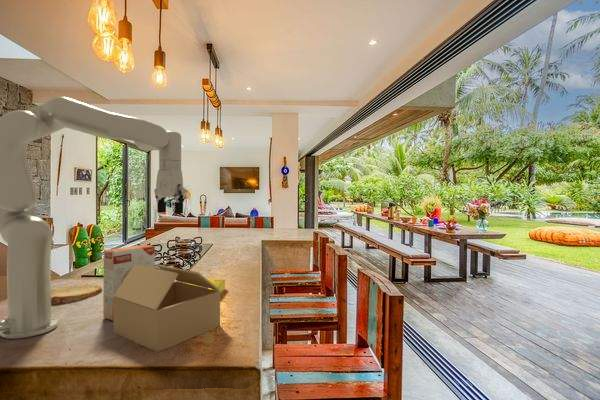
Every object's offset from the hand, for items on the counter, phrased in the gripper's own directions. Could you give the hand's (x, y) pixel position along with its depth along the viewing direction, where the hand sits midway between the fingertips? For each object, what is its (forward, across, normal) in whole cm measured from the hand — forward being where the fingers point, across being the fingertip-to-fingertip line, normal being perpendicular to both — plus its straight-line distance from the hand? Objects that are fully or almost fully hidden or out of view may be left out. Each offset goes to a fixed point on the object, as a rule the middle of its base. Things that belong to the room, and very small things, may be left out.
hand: (170, 213), depth 126 cm
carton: (+31, +25, -19) cm, 44 cm away
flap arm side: (+17, +25, -26) cm, 40 cm away
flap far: (+17, +25, -13) cm, 33 cm away
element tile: (+31, +7, +9) cm, 33 cm away
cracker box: (+31, +4, -18) cm, 36 cm away
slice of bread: (+32, -30, -20) cm, 48 cm away
